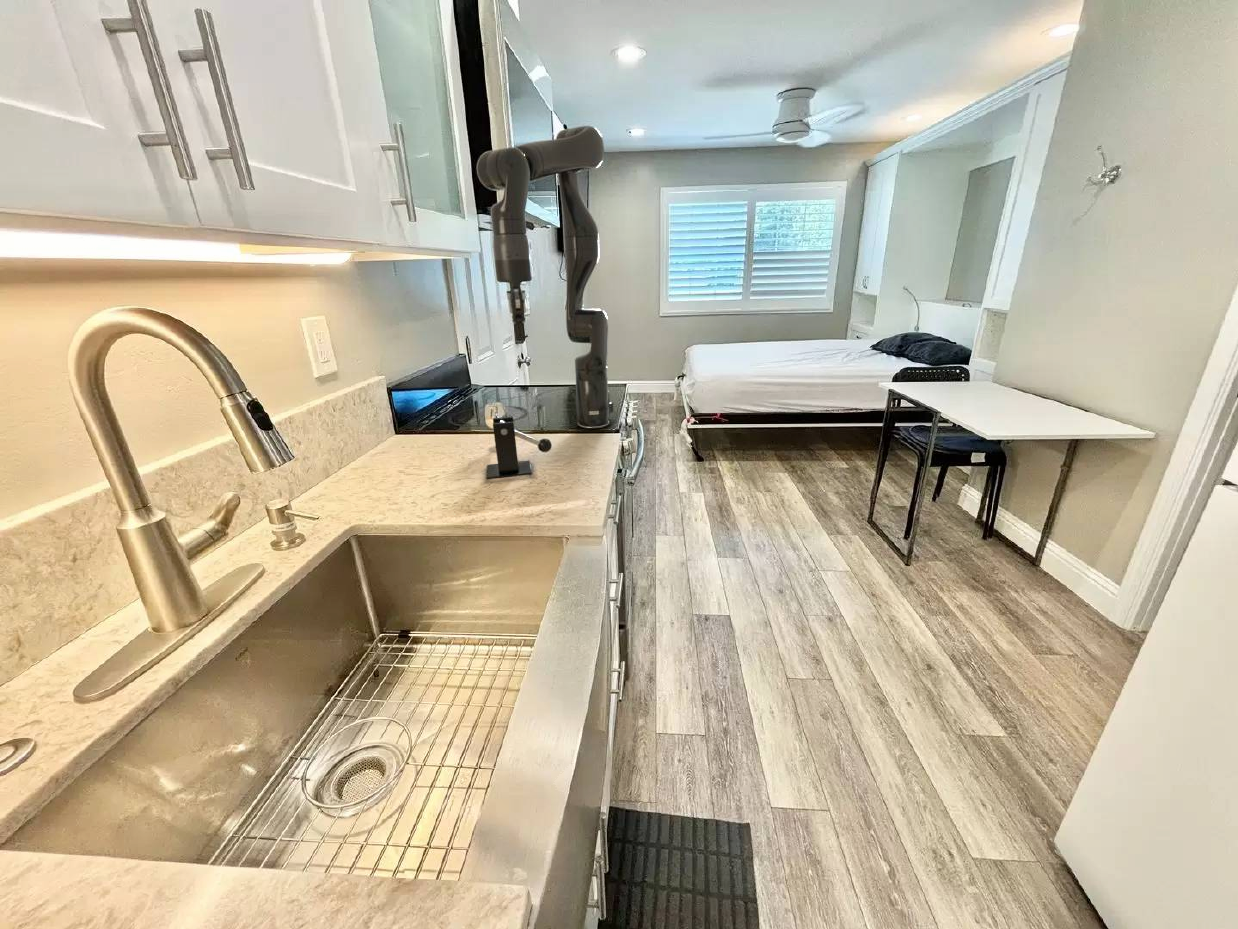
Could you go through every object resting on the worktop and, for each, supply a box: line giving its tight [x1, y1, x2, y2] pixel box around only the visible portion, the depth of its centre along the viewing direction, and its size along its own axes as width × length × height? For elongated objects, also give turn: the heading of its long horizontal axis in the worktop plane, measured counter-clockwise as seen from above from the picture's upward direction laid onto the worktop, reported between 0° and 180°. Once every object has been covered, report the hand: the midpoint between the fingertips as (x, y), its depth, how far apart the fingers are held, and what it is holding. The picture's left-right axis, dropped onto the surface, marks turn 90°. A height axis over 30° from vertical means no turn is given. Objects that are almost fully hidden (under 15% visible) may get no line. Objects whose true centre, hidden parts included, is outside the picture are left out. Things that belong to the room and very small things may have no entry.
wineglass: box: [483, 401, 508, 430], centre depth 127 cm, size 6×6×12 cm
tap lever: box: [499, 420, 553, 453], centre depth 111 cm, size 13×3×3 cm, turn 104°
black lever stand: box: [485, 416, 533, 480], centre depth 111 cm, size 10×8×13 cm
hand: (520, 340), depth 111 cm, fingers closed
